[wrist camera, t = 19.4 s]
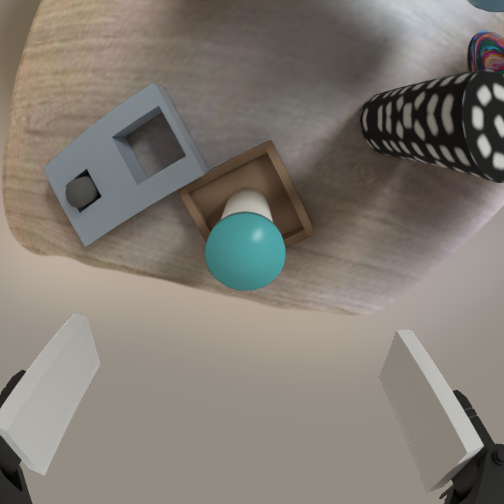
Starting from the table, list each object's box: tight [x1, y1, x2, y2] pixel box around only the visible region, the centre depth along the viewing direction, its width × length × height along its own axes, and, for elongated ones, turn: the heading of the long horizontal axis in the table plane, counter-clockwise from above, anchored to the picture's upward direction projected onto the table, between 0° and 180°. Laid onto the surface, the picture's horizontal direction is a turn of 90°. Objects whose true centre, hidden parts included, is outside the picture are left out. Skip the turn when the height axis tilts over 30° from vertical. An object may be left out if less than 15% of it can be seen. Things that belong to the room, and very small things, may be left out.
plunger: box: [65, 175, 102, 208], centre depth 32 cm, size 3×3×4 cm
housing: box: [43, 82, 209, 247], centre depth 33 cm, size 12×18×4 cm, turn 117°
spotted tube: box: [360, 70, 504, 183], centre depth 23 cm, size 8×8×20 cm
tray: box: [177, 140, 316, 248], centre depth 35 cm, size 12×12×2 cm
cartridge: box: [205, 187, 286, 291], centre depth 29 cm, size 6×6×15 cm
